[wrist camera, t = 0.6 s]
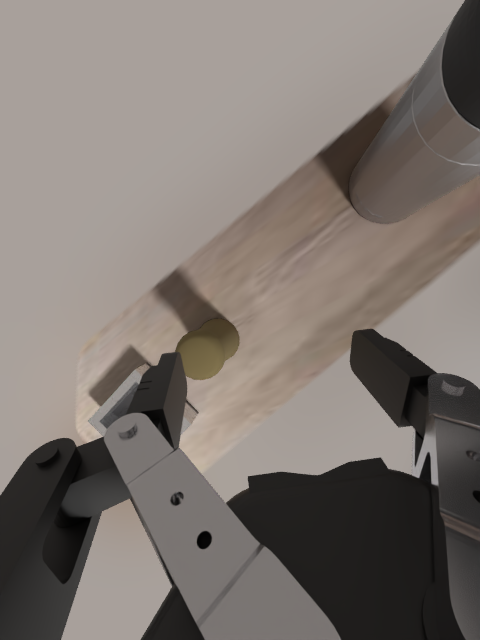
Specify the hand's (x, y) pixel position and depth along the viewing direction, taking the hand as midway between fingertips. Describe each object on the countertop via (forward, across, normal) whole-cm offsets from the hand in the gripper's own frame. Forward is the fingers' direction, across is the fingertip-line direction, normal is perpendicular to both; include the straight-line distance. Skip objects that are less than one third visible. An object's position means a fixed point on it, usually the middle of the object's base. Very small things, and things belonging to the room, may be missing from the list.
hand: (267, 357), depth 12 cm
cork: (+22, +4, +10) cm, 24 cm away
